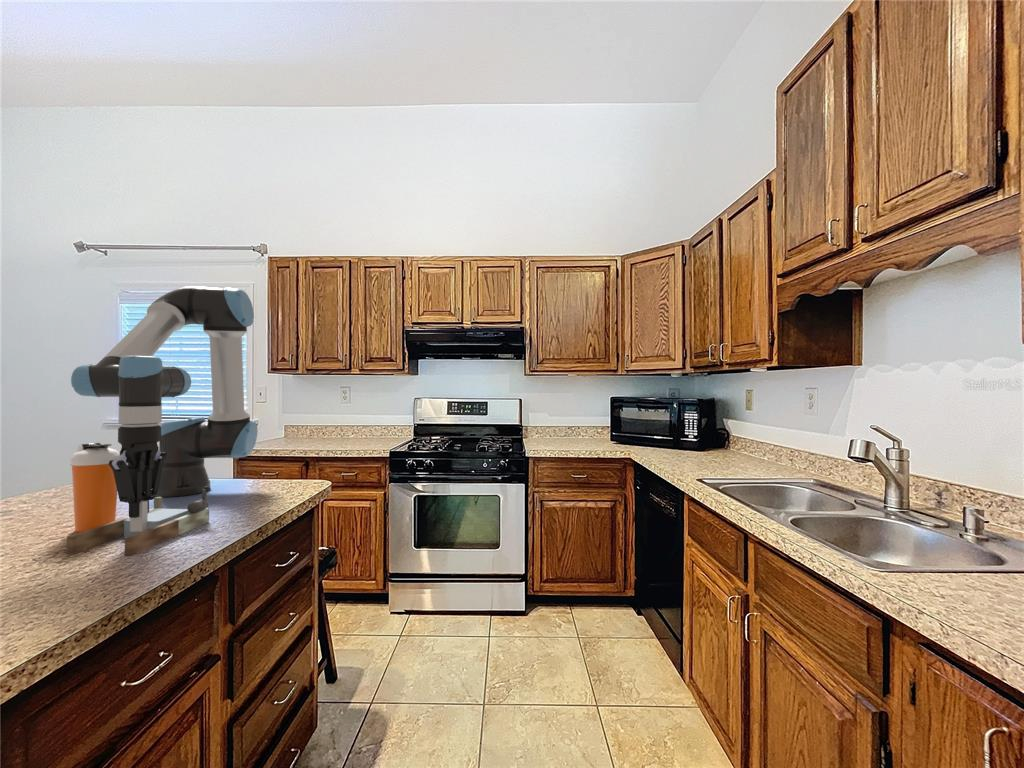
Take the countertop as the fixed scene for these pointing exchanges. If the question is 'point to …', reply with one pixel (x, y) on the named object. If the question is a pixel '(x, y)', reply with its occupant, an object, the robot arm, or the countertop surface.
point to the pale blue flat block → (156, 519)
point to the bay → (147, 537)
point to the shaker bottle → (93, 486)
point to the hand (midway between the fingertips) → (138, 530)
